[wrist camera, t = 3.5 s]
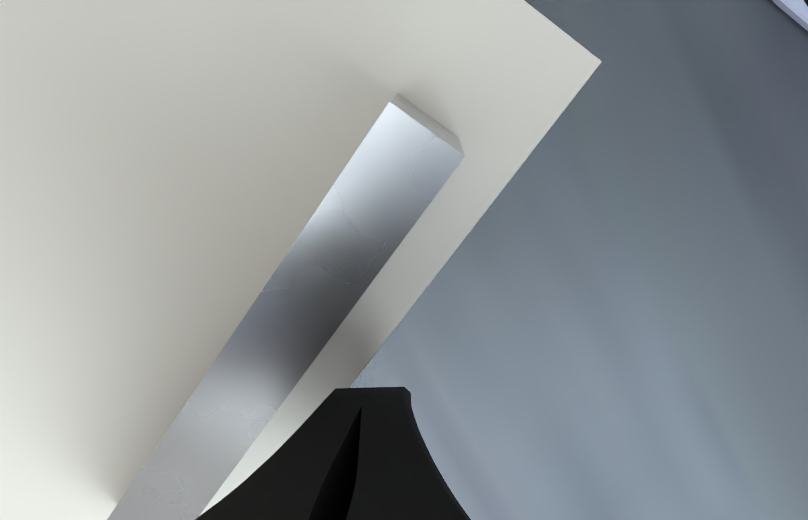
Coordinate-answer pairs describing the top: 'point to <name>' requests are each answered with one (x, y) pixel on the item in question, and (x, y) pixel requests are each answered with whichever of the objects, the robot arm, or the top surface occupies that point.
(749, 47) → the top surface
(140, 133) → the sliding cover
